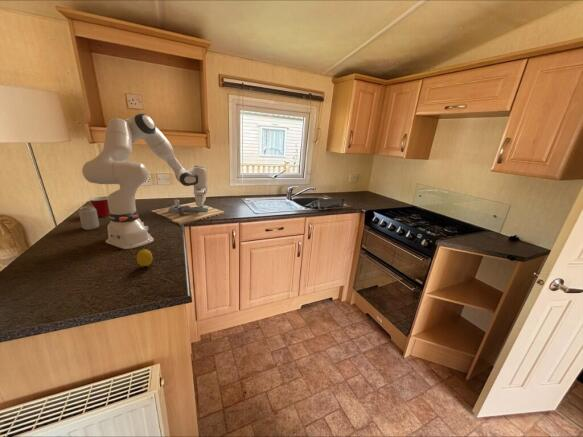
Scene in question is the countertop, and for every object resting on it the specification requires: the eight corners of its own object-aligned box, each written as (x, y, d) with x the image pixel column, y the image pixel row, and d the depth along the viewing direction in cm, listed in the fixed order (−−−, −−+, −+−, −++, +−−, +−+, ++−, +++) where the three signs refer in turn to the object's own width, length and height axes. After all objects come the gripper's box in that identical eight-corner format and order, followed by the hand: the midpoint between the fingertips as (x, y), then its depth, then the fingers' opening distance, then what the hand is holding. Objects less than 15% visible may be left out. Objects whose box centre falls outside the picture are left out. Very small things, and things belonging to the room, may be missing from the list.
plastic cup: (104, 212, 159) (101, 194, 155) (118, 214, 157) (115, 196, 153) (88, 217, 149) (84, 198, 145) (102, 219, 147) (99, 200, 143)
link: (168, 212, 162) (168, 209, 161) (172, 208, 170) (172, 205, 170) (207, 212, 166) (206, 209, 166) (208, 209, 175) (208, 205, 174)
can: (79, 228, 132) (74, 207, 128) (93, 224, 139) (89, 204, 135) (88, 231, 130) (83, 209, 126) (102, 227, 136) (98, 206, 133)
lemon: (137, 271, 97) (134, 253, 94) (139, 264, 102) (136, 247, 99) (152, 268, 99) (150, 251, 96) (154, 262, 104) (152, 245, 101)
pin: (180, 211, 168) (180, 199, 165) (176, 211, 165) (175, 200, 163) (178, 210, 169) (177, 199, 167) (174, 211, 167) (173, 199, 164)
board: (224, 213, 173) (224, 211, 173) (180, 225, 147) (179, 222, 146) (195, 204, 191) (195, 202, 191) (151, 212, 164) (151, 210, 164)
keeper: (190, 213, 163) (190, 206, 162) (181, 215, 158) (181, 208, 157) (187, 212, 166) (186, 205, 164) (178, 214, 160) (177, 207, 159)
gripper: (198, 186, 177) (199, 204, 181) (193, 192, 158) (194, 212, 162) (207, 186, 178) (208, 204, 182) (203, 193, 159) (204, 213, 163)
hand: (201, 208), depth 172 cm, fingers closed
